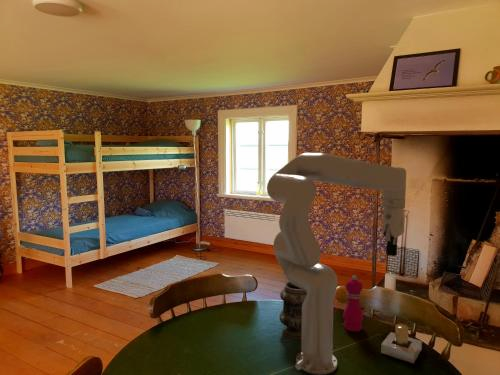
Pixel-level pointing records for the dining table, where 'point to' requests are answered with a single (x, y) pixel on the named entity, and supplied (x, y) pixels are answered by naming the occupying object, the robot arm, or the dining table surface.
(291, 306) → the apothecary jar
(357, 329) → the pepper mill
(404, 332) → the cylinder
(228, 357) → the dining table surface
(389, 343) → the jig
